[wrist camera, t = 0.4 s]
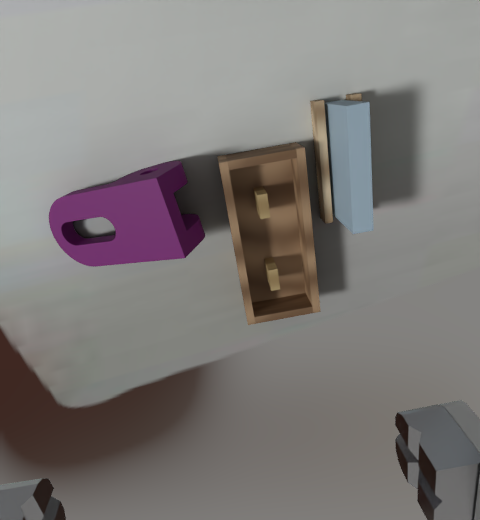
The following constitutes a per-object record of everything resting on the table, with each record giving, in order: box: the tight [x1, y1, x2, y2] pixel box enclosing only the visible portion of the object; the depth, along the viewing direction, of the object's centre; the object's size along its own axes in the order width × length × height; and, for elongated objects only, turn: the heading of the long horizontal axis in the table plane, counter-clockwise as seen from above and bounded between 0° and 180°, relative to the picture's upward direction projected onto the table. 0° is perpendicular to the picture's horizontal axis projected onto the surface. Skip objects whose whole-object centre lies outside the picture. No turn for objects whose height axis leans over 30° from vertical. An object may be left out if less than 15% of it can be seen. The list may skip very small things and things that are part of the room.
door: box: [324, 100, 373, 234], centre depth 48 cm, size 14×3×9 cm, turn 9°
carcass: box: [217, 142, 320, 325], centre depth 53 cm, size 22×10×5 cm, turn 9°
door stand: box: [310, 93, 362, 224], centre depth 51 cm, size 15×5×2 cm, turn 9°
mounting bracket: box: [49, 161, 205, 266], centre depth 51 cm, size 9×8×18 cm
